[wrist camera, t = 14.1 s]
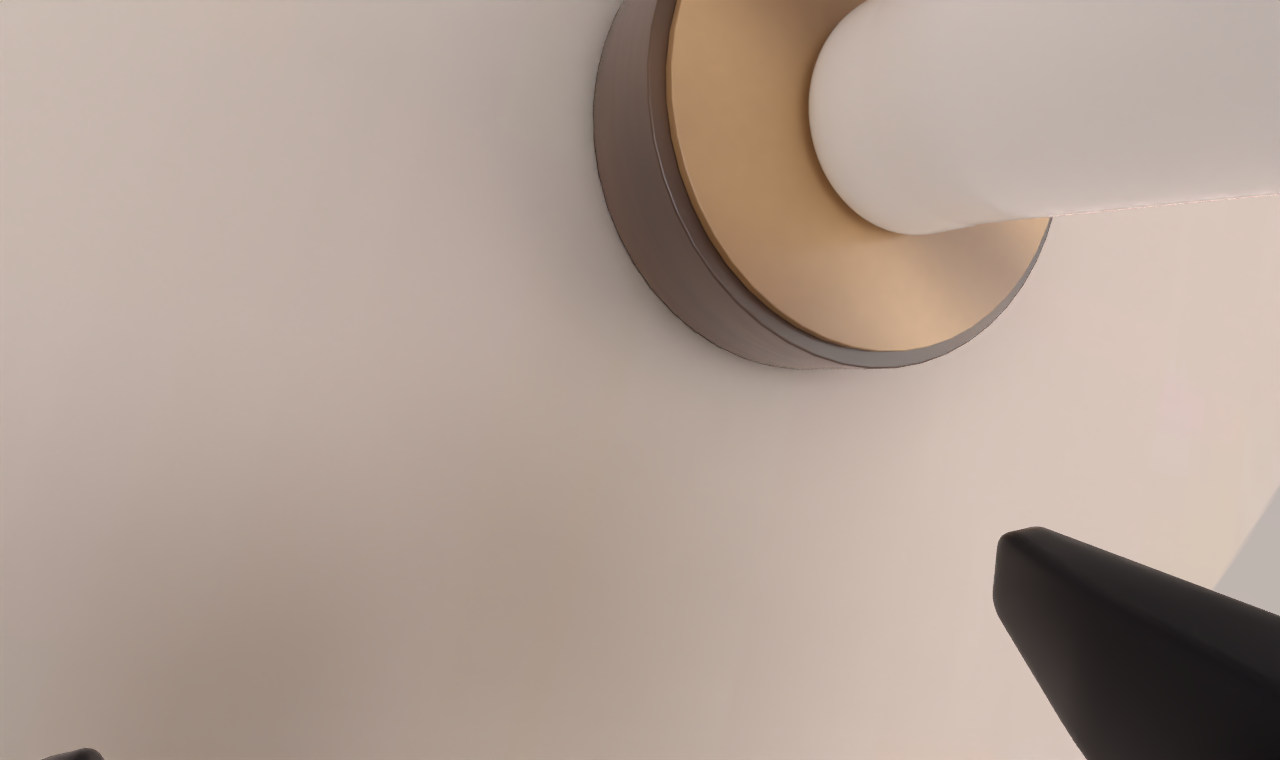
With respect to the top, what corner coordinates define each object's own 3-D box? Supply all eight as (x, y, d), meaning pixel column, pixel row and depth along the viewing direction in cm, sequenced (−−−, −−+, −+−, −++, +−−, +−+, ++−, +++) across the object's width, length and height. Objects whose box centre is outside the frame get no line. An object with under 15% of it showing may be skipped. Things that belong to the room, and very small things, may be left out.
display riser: (855, 451, 24) (948, 464, 20) (499, 186, 19) (544, 150, 16) (1027, 115, 26) (1134, 80, 23) (743, -183, 22) (825, -278, 19)
